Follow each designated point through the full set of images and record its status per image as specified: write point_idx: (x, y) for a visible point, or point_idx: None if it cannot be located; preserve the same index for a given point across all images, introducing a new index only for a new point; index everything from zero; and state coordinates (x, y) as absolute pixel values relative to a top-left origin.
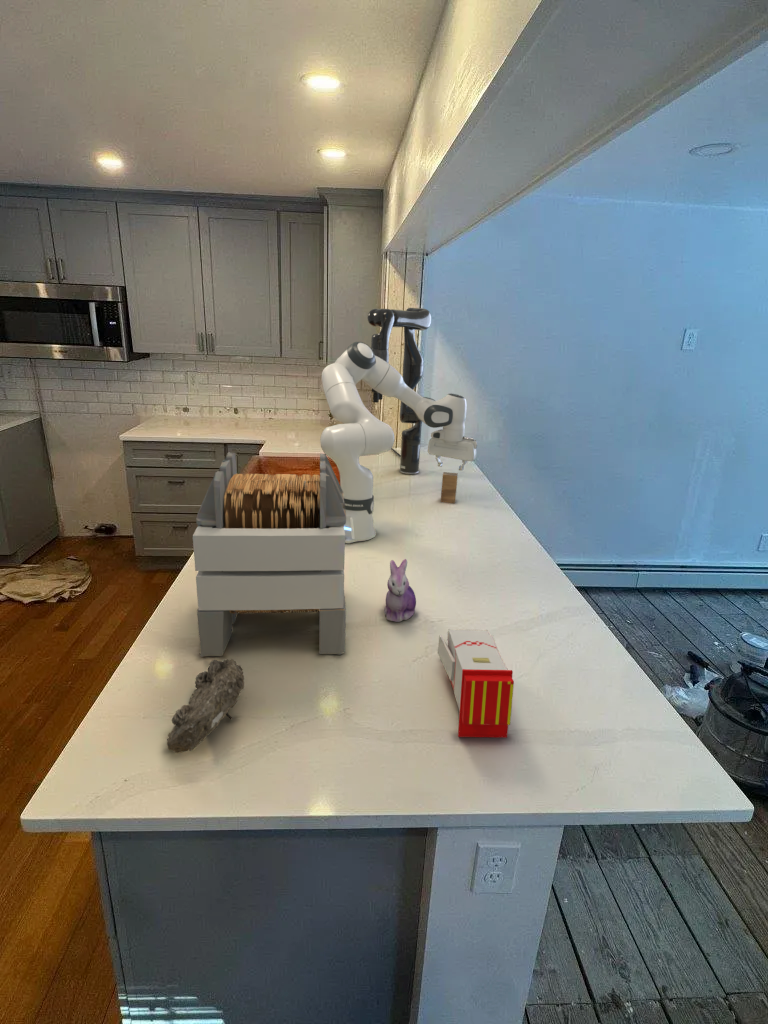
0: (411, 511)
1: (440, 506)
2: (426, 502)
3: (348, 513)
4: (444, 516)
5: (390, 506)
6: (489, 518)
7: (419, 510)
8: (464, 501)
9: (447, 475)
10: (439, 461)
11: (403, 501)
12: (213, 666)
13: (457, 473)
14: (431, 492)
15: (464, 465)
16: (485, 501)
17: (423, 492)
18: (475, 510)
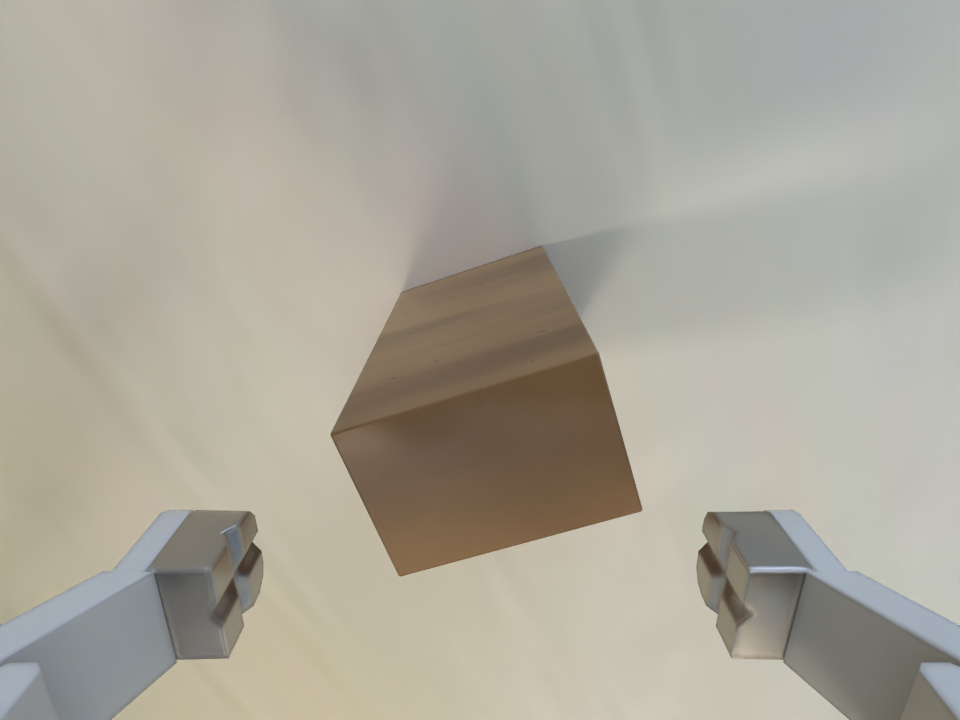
0: (355, 677)
1: None
2: (335, 457)
3: None
4: (602, 643)
5: (176, 672)
6: (942, 510)
7: (391, 636)
8: (636, 213)
9: (476, 551)
10: (150, 647)
11: None
12: None
13: (595, 368)
14: (193, 133)
15: (871, 592)
16: (860, 56)
17: (128, 193)
18: (799, 402)
